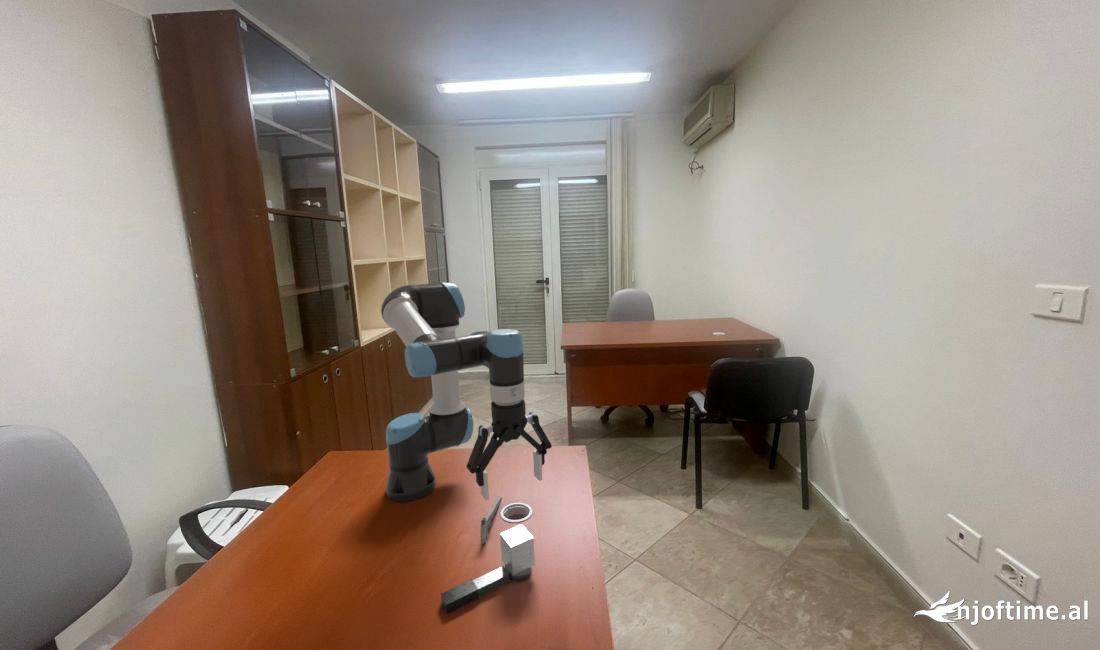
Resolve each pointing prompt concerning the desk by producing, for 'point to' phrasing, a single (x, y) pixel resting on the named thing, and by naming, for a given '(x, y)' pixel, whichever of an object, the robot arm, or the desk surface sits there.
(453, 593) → the ratchet
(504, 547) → the plain grey cube
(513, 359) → the robot arm
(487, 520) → the caliper
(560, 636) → the desk surface
